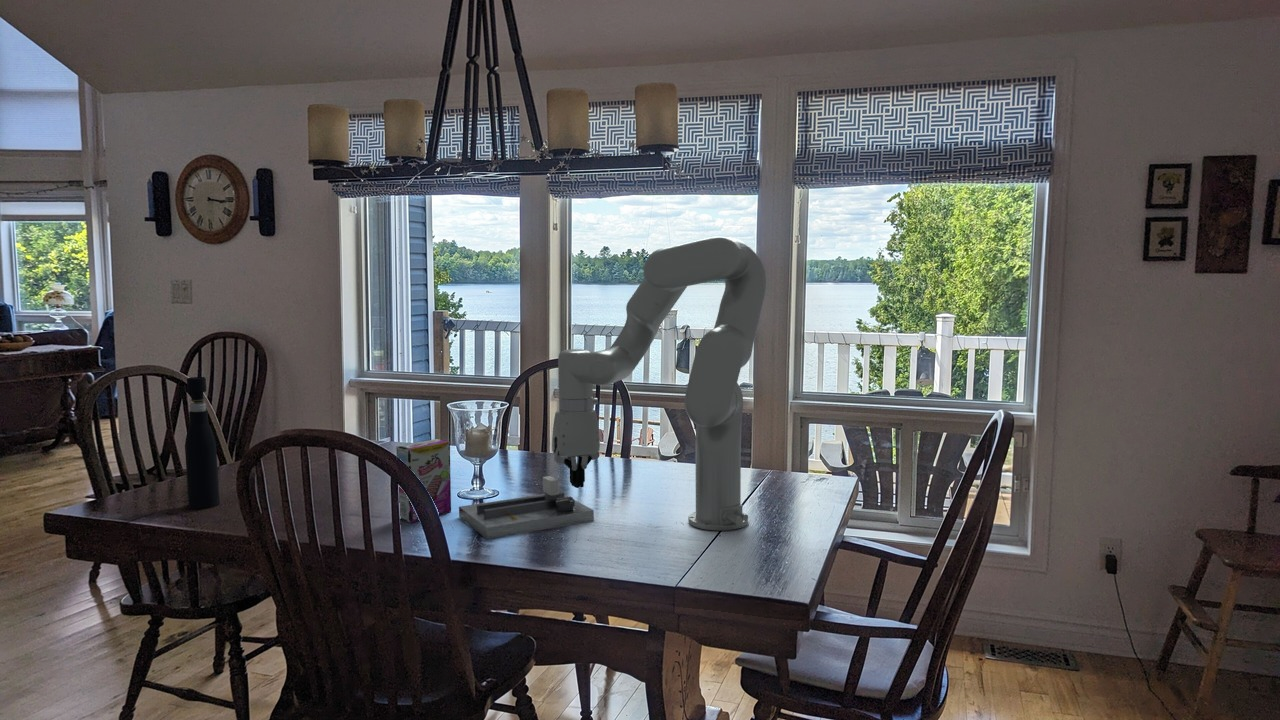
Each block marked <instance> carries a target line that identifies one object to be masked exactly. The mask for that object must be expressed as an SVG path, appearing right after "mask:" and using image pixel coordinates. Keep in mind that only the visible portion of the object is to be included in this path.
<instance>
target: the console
mask: <svg viewBox="0 0 1280 720" xmlns="http://www.w3.org/2000/svg"><path fill="white" fill-rule="evenodd" d="M594 512H595V511H594V509H592V508H591V507H589V506H587V505H585V504H583V503H581V502H579V501H577V500H575V498H573V497H572V496H570V495H569V496H568V495H566V494H565V492H563V491H561V492H560V491H559V495H557V499H550V500H545V493H543V494H534V495H528V496H522V497H515V498H509V499H502V500H495V501H488V502H482V503H476V504H469V505H462V506H458V514H459V515H458V517H459V518H460V519H461V520H462V521H463V522H465V524H467V525H468V526H470V527H471V528H472V529H473V530H474V531H476V533H477V532H478V533H479V534H480V535H481V536H482V537H484V539H486V540H491V539H497V538H502V537H507V536H509V537H510V536H515V535H520V534H527V533H532V532H538V531H543V530H549V529H550V530H551V529H554V528H561V527H566V526H573V525H578V524H585V523H591V522H594V521H595V513H594Z"/></svg>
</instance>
